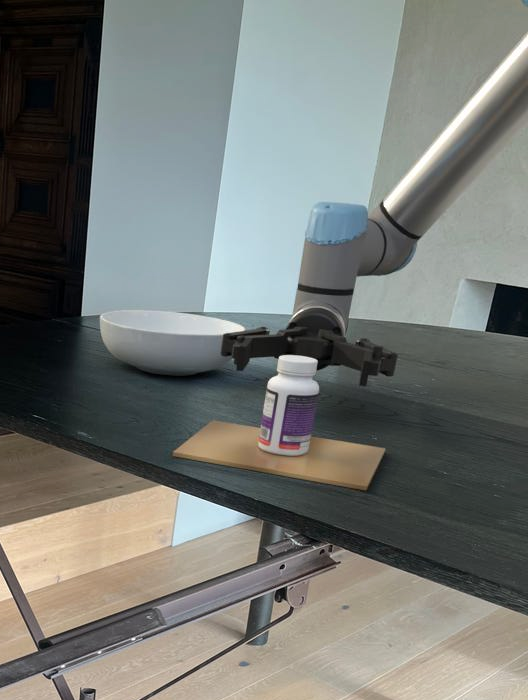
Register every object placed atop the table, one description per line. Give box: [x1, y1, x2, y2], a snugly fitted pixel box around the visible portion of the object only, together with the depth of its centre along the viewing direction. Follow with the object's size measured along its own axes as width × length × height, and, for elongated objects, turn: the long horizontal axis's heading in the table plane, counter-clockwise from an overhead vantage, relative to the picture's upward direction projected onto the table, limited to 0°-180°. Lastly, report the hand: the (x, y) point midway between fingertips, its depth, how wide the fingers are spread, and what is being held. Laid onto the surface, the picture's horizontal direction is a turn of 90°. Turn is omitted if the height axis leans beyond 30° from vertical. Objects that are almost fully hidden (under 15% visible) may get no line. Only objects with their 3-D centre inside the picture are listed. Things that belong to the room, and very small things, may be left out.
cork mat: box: [172, 419, 387, 491], centre depth 107 cm, size 20×16×1 cm
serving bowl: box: [99, 309, 247, 377], centre depth 143 cm, size 21×21×7 cm
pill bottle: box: [258, 355, 320, 456], centre depth 105 cm, size 5×5×10 cm
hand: (302, 366), depth 110 cm, fingers open, 13 cm apart
